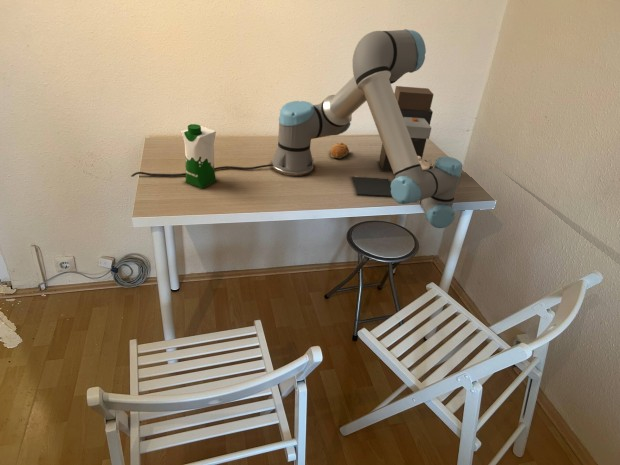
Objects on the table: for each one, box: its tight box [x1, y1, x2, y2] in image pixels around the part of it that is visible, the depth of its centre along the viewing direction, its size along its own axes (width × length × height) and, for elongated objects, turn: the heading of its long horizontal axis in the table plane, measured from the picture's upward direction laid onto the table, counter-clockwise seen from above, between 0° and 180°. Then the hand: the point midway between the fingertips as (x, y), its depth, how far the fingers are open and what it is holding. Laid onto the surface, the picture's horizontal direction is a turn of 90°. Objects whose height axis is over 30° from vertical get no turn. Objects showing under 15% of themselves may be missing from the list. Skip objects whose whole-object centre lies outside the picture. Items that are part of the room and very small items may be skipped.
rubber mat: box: [352, 176, 393, 198], centre depth 167 cm, size 13×13×1 cm
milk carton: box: [181, 123, 217, 189], centre depth 154 cm, size 9×9×20 cm
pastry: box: [330, 142, 350, 159], centre depth 187 cm, size 9×7×4 cm
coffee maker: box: [378, 85, 434, 173], centre depth 171 cm, size 18×14×30 cm
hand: (411, 163), depth 166 cm, fingers closed on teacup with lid, 9 cm apart
